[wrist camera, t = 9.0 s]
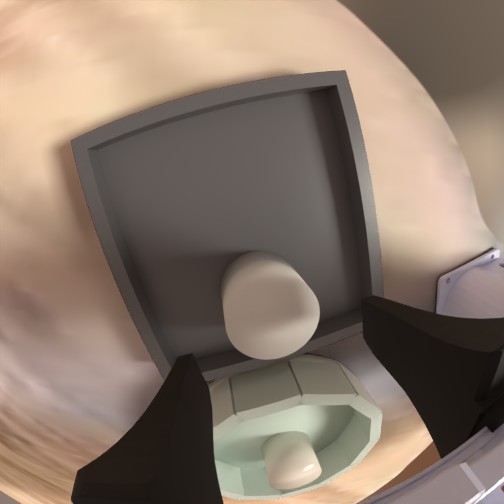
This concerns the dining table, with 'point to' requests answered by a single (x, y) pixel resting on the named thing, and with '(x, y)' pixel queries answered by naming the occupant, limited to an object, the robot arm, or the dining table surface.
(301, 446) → the pebble
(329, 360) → the bowl
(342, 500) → the dining table surface
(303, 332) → the pebble
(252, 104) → the tray
